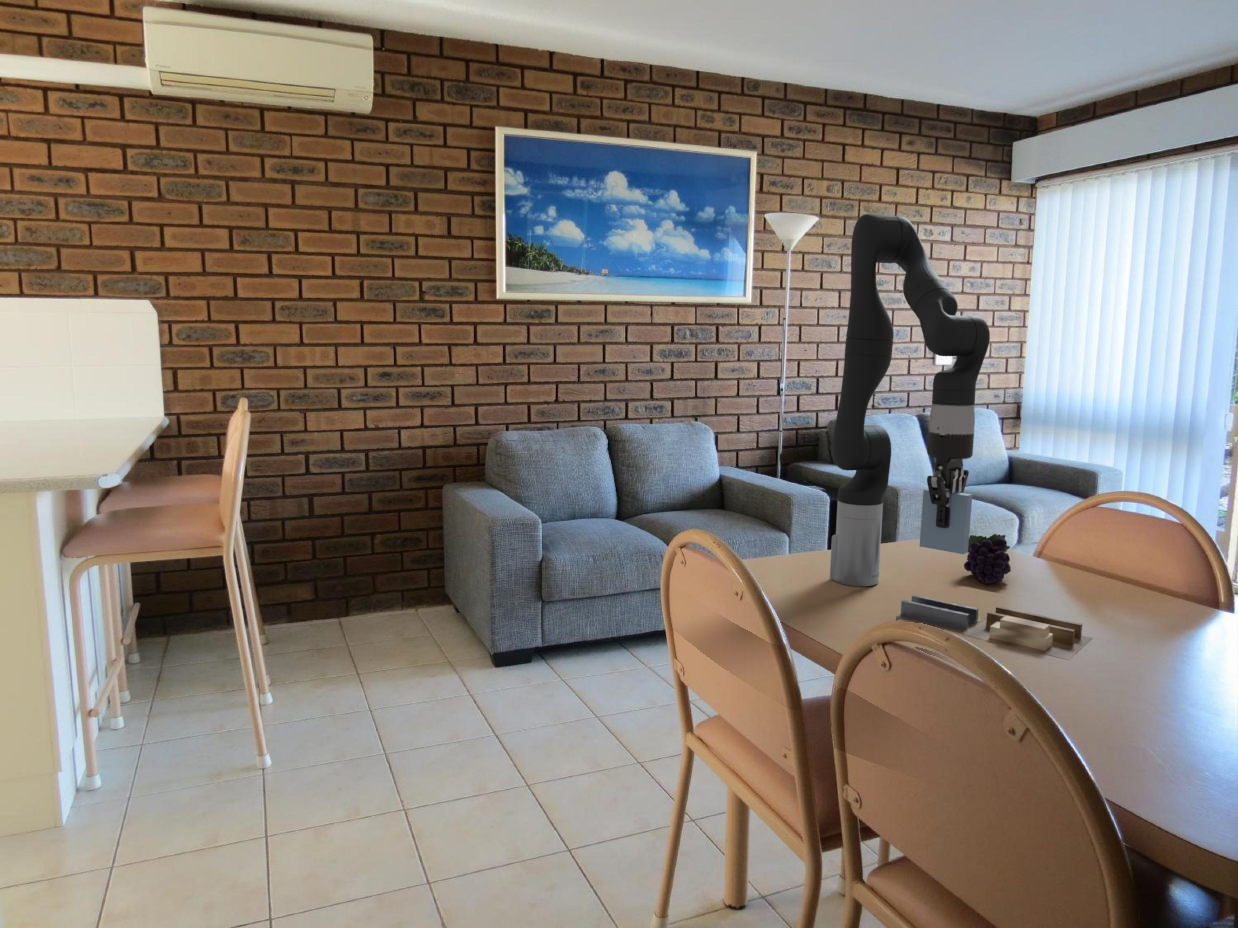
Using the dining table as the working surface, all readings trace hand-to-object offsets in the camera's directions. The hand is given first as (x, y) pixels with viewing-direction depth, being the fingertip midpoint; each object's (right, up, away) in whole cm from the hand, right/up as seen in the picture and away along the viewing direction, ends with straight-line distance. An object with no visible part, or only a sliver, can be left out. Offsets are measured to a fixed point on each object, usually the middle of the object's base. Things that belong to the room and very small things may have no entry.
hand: (945, 526), depth 156 cm
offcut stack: (+9, -19, -9) cm, 23 cm away
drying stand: (0, -18, +3) cm, 18 cm away
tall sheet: (0, -4, +1) cm, 4 cm away
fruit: (+21, -14, +33) cm, 41 cm away
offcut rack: (+12, -19, -7) cm, 23 cm away
